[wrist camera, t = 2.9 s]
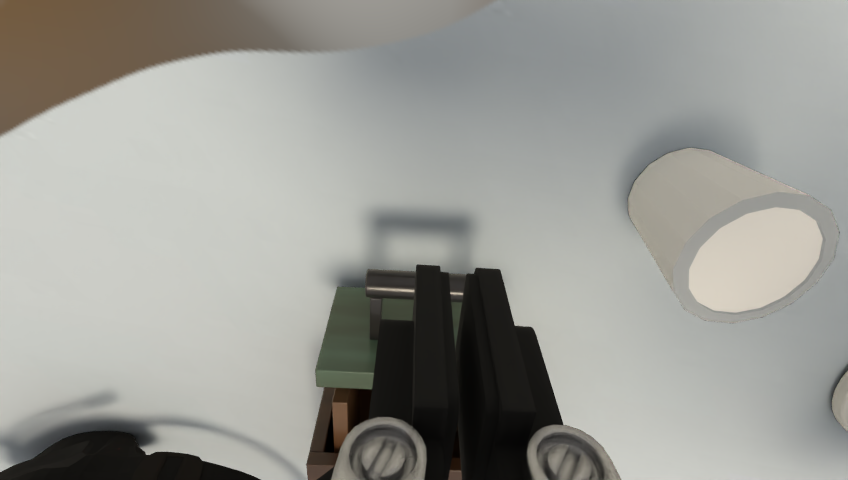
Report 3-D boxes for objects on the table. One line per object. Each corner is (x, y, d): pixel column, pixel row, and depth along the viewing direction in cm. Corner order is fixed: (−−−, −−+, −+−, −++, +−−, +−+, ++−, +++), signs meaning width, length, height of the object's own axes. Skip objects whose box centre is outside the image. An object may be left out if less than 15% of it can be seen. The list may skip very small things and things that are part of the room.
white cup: (594, 229, 27) (643, 304, 21) (659, 119, 24) (739, 171, 18) (693, 259, 28) (767, 339, 22) (770, 158, 25) (880, 220, 19)
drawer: (335, 225, 26) (310, 301, 20) (518, 236, 26) (545, 314, 20) (341, 420, 34) (325, 513, 29) (479, 426, 35) (490, 519, 29)
